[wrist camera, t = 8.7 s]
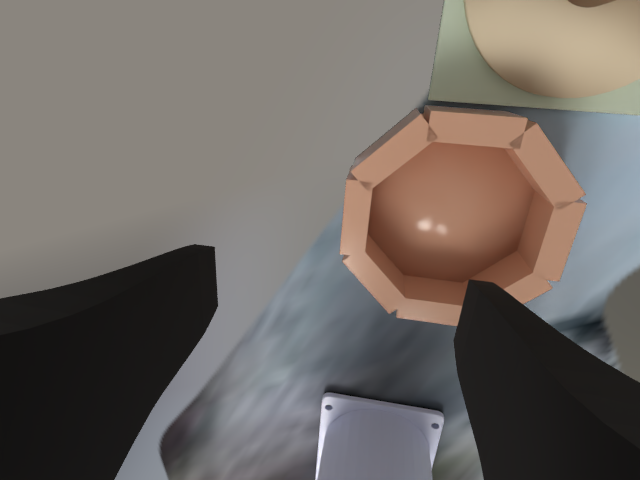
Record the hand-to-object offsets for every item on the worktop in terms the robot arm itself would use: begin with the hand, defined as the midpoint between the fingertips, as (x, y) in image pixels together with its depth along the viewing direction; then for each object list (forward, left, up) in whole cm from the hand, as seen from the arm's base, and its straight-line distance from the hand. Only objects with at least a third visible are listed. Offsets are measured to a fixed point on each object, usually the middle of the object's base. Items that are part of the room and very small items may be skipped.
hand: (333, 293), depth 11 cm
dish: (0, -5, -10) cm, 11 cm away
